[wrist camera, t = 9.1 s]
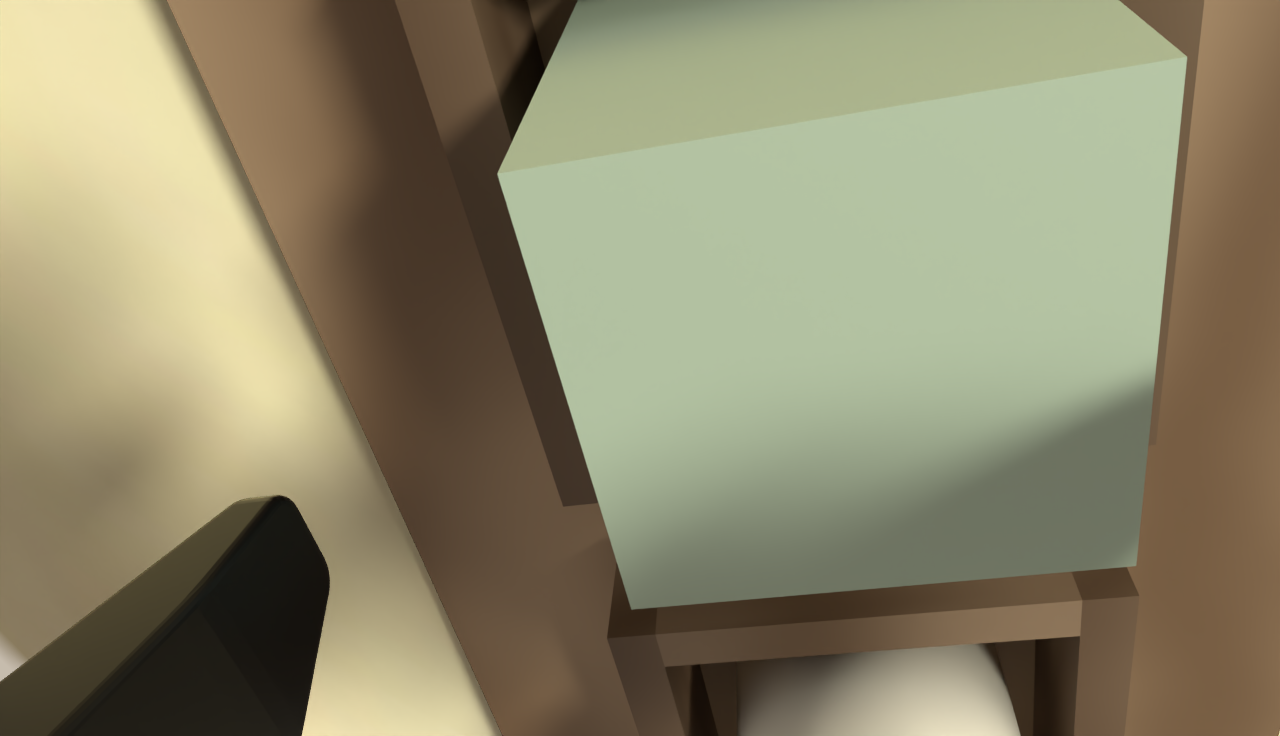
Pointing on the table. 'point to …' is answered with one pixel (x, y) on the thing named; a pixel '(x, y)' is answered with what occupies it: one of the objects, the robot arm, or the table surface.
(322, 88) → the socket board
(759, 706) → the cream cylinder
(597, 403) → the sage block
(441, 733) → the table surface
